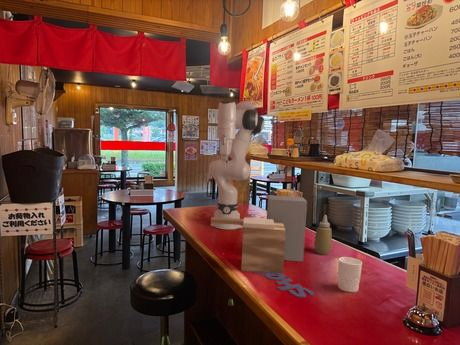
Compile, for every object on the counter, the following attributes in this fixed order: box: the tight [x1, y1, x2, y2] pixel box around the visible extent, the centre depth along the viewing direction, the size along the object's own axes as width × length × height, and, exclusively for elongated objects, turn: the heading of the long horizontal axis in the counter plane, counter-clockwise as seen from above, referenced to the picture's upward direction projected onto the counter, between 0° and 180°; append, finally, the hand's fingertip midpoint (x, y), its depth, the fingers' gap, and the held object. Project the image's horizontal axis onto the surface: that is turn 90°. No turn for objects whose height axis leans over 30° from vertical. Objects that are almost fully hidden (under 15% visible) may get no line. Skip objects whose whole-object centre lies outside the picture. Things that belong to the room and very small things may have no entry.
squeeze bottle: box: [313, 214, 333, 256], centre depth 157 cm, size 8×8×18 cm
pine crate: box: [240, 223, 286, 274], centre depth 135 cm, size 12×16×17 cm
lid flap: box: [210, 216, 275, 229], centre depth 135 cm, size 10×25×2 cm, turn 86°
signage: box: [252, 271, 316, 299], centre depth 122 cm, size 28×1×10 cm
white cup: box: [337, 256, 363, 293], centre depth 118 cm, size 8×8×10 cm
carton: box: [266, 194, 308, 262], centre depth 150 cm, size 12×16×26 cm
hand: (224, 164), depth 160 cm, fingers open, 8 cm apart
